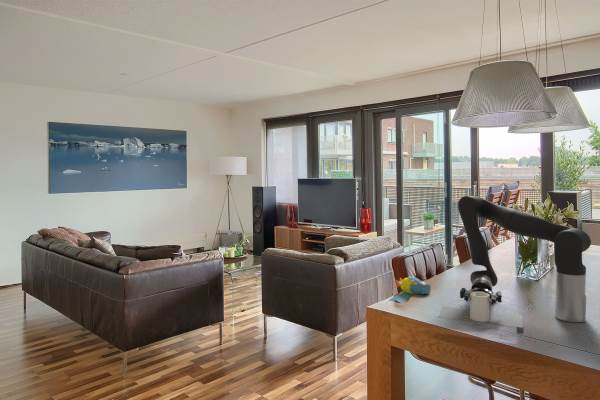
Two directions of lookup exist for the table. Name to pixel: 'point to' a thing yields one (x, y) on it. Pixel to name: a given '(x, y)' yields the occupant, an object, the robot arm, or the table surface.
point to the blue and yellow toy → (410, 288)
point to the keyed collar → (479, 306)
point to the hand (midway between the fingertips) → (479, 300)
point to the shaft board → (494, 318)
